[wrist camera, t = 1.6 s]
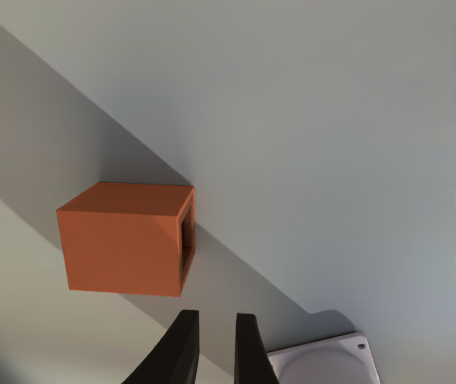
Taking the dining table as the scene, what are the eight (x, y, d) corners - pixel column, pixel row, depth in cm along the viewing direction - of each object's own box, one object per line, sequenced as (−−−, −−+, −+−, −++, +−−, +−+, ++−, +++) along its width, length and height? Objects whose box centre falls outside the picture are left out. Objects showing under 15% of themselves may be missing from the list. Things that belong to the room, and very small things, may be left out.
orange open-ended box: (106, 248, 24) (69, 290, 19) (98, 182, 22) (55, 210, 17) (195, 253, 23) (179, 297, 19) (194, 186, 22) (176, 216, 17)
